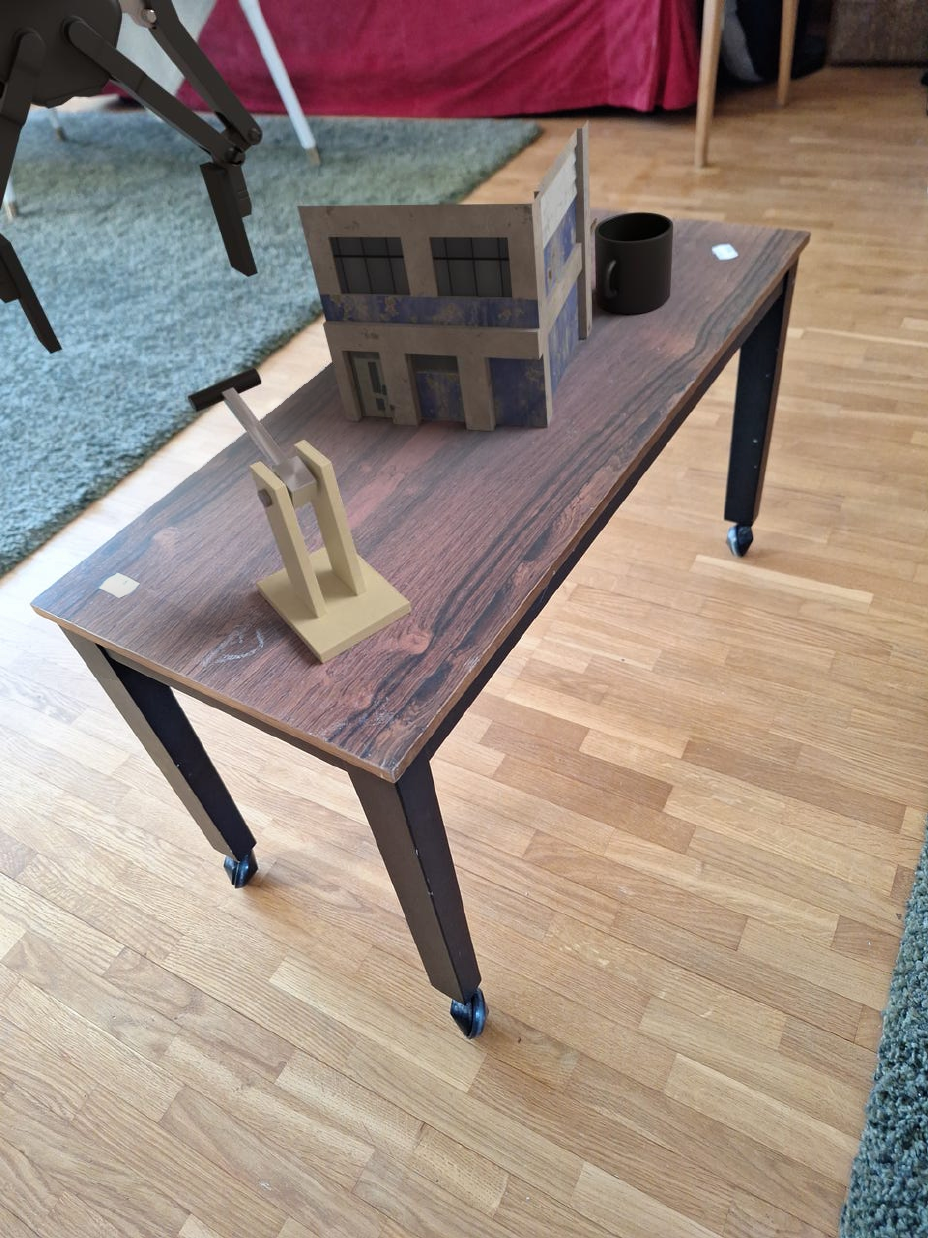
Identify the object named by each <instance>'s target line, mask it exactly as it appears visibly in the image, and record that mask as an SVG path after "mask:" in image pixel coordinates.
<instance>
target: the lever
mask: <svg viewBox="0 0 928 1238" xmlns="http://www.w3.org/2000/svg"><path fill="white" fill-rule="evenodd" d="M260 385H262V378H261V376H260V374H259V371H258V370H257V369H256V368H255V367H251V368H249V369H246V370H244V371H242V372H239V373H237V374H235V375H233V376H230V377H228V378H226V379H223V380H221V381H219V382H217V383H214V384H212V385H209V386H208V387H204V388H202V389H200V390H198V391H195V392H194V393H191V394H189V395H188V396H187V400H188V403H189V406H190V407H191V408H192V410H193V412H195V413H200V412H201V411H204V410H205V409H208V408H211V407H213V406H215V405H217V404H220V403H222V402H223V403H224V404H225V405H226V406H227V408H228V409H229V411H230V412H231V413H232V414H233V416H234V417H235V418H236V419H237V421H238V422H239V424H240V425H241V426H242V428H243V429H244V430H245V431H246V433H247V434H248V436H249V437H250V438H251V439H252V441H253V442H254V443H255V446H257V448H258V449H259V451H261V453H262V454H263V456H264V457H265V458H266V460H267V461H268V462H269V463H270V465H271V466H272V470H273V474H275V475H276V476H277V477H278V478H279V479H280V480H281V481H282V482H283V483H284V484H285V485H286V488H287V491H288V494H289V497H290V500H291V503H292V506H293V509H294V511H295V510H296V509H299V508H300V507H303V506H304V505H307V504H308V503H311V501H312V500H314V499H316V498H318V496H317V482H316V479H315V478H314V476H313V475H312V474H311V472H310V471H309V470H308V469H307V467H306V466H305V465H304V463H303V462H302V461H301V459H300V458H299V457H298V456H297V455H295V456H293V457H291V458H288V456H286V454H285V453H284V451H283V450H282V449H281V448H280V446H279V445H278V443H276V441H275V439H273V437H272V436H271V434H269V432H268V431H267V429H266V428H265V427H264V425H263V424H262V423H261V422H260V420H259V419H258V417H257V416H256V415H255V414H254V413H253V411H252V410H251V408H250V407H249V406H248V404H247V403H246V402H245V400H244V399H243V398H242V397H241V395H240V394H242V393H245V392H247V391H249V390H252V389H253V388H255V387H258V386H260Z"/></svg>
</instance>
